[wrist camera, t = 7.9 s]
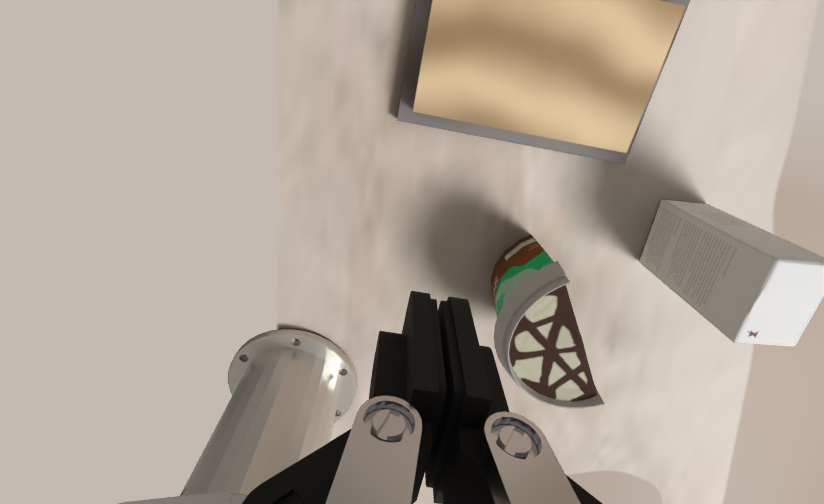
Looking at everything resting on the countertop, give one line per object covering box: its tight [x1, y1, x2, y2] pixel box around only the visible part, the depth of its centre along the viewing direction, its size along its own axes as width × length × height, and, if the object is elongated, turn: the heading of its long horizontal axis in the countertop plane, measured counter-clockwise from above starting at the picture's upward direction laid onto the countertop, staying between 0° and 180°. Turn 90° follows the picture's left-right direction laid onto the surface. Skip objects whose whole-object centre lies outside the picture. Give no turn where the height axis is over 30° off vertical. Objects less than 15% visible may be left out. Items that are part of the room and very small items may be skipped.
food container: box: [491, 235, 604, 408], centre depth 34 cm, size 12×6×10 cm, turn 22°
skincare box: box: [639, 200, 824, 346], centre depth 31 cm, size 6×4×12 cm
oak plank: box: [413, 0, 686, 153], centre depth 29 cm, size 10×16×2 cm, turn 79°
